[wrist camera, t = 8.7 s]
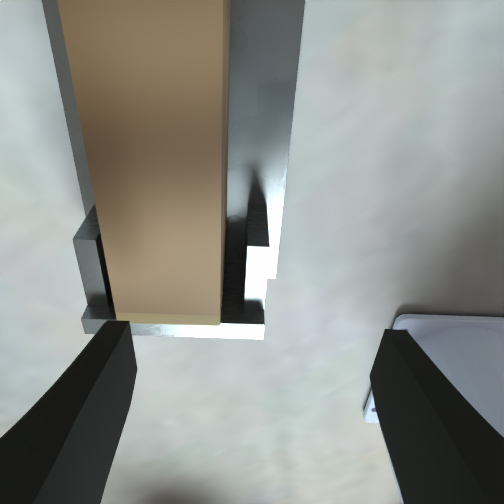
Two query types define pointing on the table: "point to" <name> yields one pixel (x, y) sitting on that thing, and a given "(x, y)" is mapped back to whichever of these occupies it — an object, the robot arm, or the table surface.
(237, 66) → the brackets
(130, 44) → the brown wooden block
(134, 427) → the table surface
